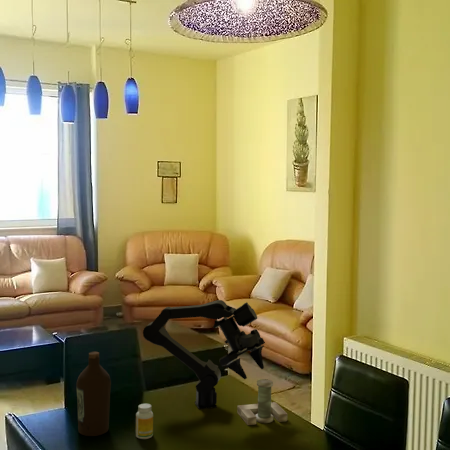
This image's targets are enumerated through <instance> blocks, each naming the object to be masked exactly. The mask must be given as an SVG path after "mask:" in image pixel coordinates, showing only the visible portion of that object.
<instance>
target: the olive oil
mask: <svg viewBox="0 0 450 450" xmlns="http://www.w3.org/2000/svg"><path fill="white" fill-rule="evenodd" d="M87 359H88V360H87V361H88V363H87V364H88V365H87V366H85V368H84V369H83V370H82V372H80V374H79V375H78V377H77V380H76V384H75V385H76V386H75V387H76V397H77V398H76V400H77V401H76V402H77V429H78V431H77V432H78V433H79V434H80V435H82V436H85V437H97V436H101V435H103V434H105V433H107V432H108V431H109V428H110V425H109V424H110V409H111V408H110V406H111V404H110V403H111V388H112V380H111V376H110V374H109V373H108V371H107V370H106V369H104V368H103V366H102V365H101V364H100V352H98V351H90V352H88V358H87Z"/></svg>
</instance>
